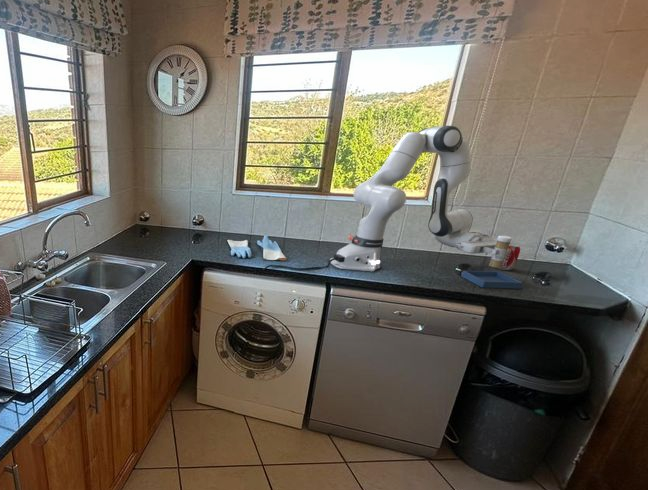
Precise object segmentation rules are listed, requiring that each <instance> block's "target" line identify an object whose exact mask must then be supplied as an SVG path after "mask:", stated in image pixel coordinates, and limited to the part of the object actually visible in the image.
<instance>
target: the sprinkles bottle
mask: <svg viewBox="0 0 648 490" xmlns="http://www.w3.org/2000/svg"><path fill="white" fill-rule="evenodd" d="M496 239H497V243H496V246H495V248H494V249H497V250H499V252H498V254H492V253H491V257H490V261H489V264H488V266H489V267H491V268H494V269H498V268H502V265H503V262H504V259H505V257H506V253H507V250H508V247H509V244H510V243H511V242H512V240H513V237H511V236H508V235H498V236H497V238H496Z"/></svg>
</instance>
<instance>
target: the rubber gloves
mask: <svg viewBox="0 0 648 490" xmlns="http://www.w3.org/2000/svg"><path fill="white" fill-rule="evenodd" d="M227 244H228V245H229V247H230V249H231V250H230V255H231V257H235V254H236V256H237V258H239V259H240V258H241V257H242V259H246V257H248V258H249V259H250V258H252V250H251V248H250V247H249V241H248V239H245V240H233V239H227ZM256 244H257V245H258V246H260V247H261V248H262V250H263V254H262V257H263V260H264V261H277V260H278V261H287V260H288V258H287V257H286V255H285V254H284V253H283V252H282V249H281V248H280V246H279V244H278V242H276V240H274V241H272V240H271V239H269V236H268V235H267V234H264V235H263V238H262V240H257V241H256Z"/></svg>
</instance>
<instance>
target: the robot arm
mask: <svg viewBox="0 0 648 490" xmlns="http://www.w3.org/2000/svg"><path fill="white" fill-rule="evenodd" d="M425 153H431V154H434V153H435V154H437V155H438V156H439V173H438V177H437V180H436V182H435V183H434V186H433V191H432V192H433V193H432V199H431V200H432V203H431V209H430V210H431V211H430V217H429V220H428V223H427V226H428V230H429V232H430V233H431V234H433V235H434V238H435V240H436V241H437V242H438V243H439V244H442V245H444V246H447V247H450V248H456V249H457V250H460V251H462V252H465V253H468V254H471V255H474V254H475V255H476V254H485V253H486V254H491V255H492V254H498V252H499V250H497V249H494V248H495V246H496V243H497V238H496V237H492V236H491V235H488V234H480V233H476V232H471V231H470V230H471V228H472V225H473V220H474V219H473V215H472V213H471V212H470V211H469V210H468V209H465V208H459V209H458V208H457V209H455V210H451V211H449V212H448V207H449V199H450V195H451V194H452V192H453V191H454V190H455V189H456V188H457V187H458V186H460V185H461V184H462V183H464V182H465V181H467V179H468V178H469V176H470V174H471V171H472V156H471V150H470V146H469V142H468V140H467V139H466V138H463V134H462V132H461V130H460V129H459V128H458V127H457V126H455V125H441V126H440V125H439V126H438V125H437V126H436V125H435V126H430V127H428V128H423V129H420V130H419V131H409V132H407V133H405V134H404V135H403V136H402V137H401V138H400V139H399V140H398V142H397V144H395V146H394V147H393V149H392V150H391V152H390V153H389V155H388V156H387V158H386V160H385V161H384V163H383V164H382V166H381V167H380V168H379V169H378V170H377V171H376V172H375V173H374V174H373V175H372V176H371V177H369V179H367V180H365V181H363V182H360V183H359V184H358V185H356V187H355V188H354V191H353V199H354V200H355V201H356V202H357V203H359V204H361V205H362V206H365V207H369V208H370V210H369V212H368V214H367V215H365V216H363V217H361V219H360V220H359V224H358V227H357V228H358V229H357V232H356V233H357V234H356V235H355V236H353V235H348V238H347V239H348V240H350V241H351V242H350V243H348V244H347V245H344V246H343V247H341V248H339V249H338V250H337V251H336V254H333V257H331V258H329V260H328V263H327V265H325V266H311V267H292V266H287V265H282V264H269V265H266V266H264V267H263V269H262V271H265V270H266V269H268V268H271V267H273V268H285V269H290V270H297V271H306V270H307V271H308V270H315V269H319V270H320V269H325V268H328V267H330V265H332V266H334V267H335V268H338V269H341V270H349V271H350V270H351V271H361V272H376V270H380V269H381V250H382V248H383V245H384V241H385V240H384V235H385V231H386V228H387V225H388V222H389V220H390V219H391V217H392V216H393V214H394V213H396V212H397V211H400V210H401V209H402V208H403V207H404V206H405V204H406V201H407V194H406V192H405V191H404V190H403V189H401V188H398V187H396V186H395V184H396V183H398V182H401V181H403V180H405V179H406V178H407V177H408V176H409V174H410V172H411V171H412V169H413V167H414V166H415V164H416V163H417V161H418V160H419V159H420V157H421V155H422V154H425ZM508 252H509V249H508V250H507V253H508Z"/></svg>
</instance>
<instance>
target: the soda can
mask: <svg viewBox="0 0 648 490" xmlns="http://www.w3.org/2000/svg"><path fill="white" fill-rule="evenodd" d="M520 247H521V244H516V243H513V242H512V243H511V242H510V244H509V247H508V249H509V252H508V253H506V257H505V259H504V262H503V265H502V268H497V269H498V270H501V271H511V270H514V268H515V267H516V264H517V262H518V258H519V256H520V253H521V248H520Z"/></svg>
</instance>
